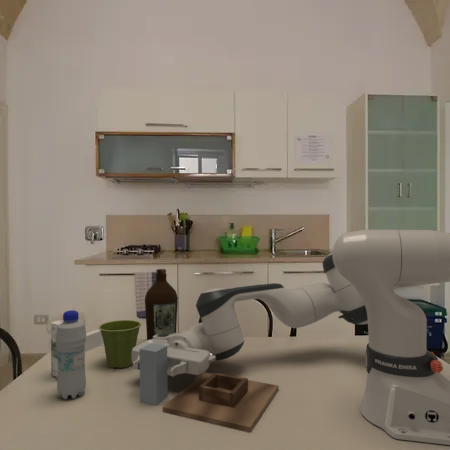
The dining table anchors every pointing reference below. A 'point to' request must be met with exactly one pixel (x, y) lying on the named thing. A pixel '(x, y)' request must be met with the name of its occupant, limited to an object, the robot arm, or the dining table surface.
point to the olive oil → (161, 307)
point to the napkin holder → (93, 340)
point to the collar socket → (223, 400)
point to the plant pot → (119, 341)
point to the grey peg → (153, 373)
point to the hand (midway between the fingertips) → (152, 369)
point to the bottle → (71, 356)
